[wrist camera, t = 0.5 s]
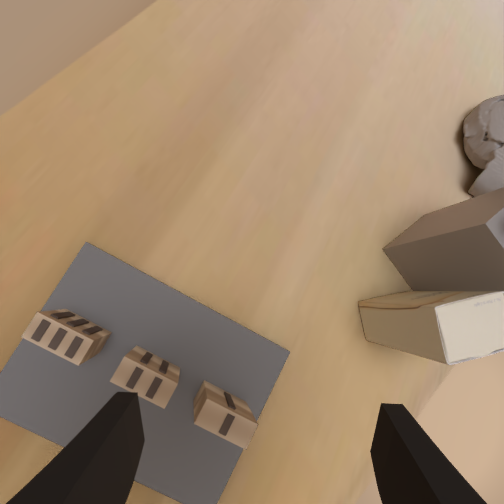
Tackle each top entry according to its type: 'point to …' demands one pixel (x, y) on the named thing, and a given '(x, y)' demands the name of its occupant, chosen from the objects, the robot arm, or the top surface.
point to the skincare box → (437, 323)
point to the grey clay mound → (486, 144)
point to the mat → (162, 345)
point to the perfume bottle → (454, 247)
